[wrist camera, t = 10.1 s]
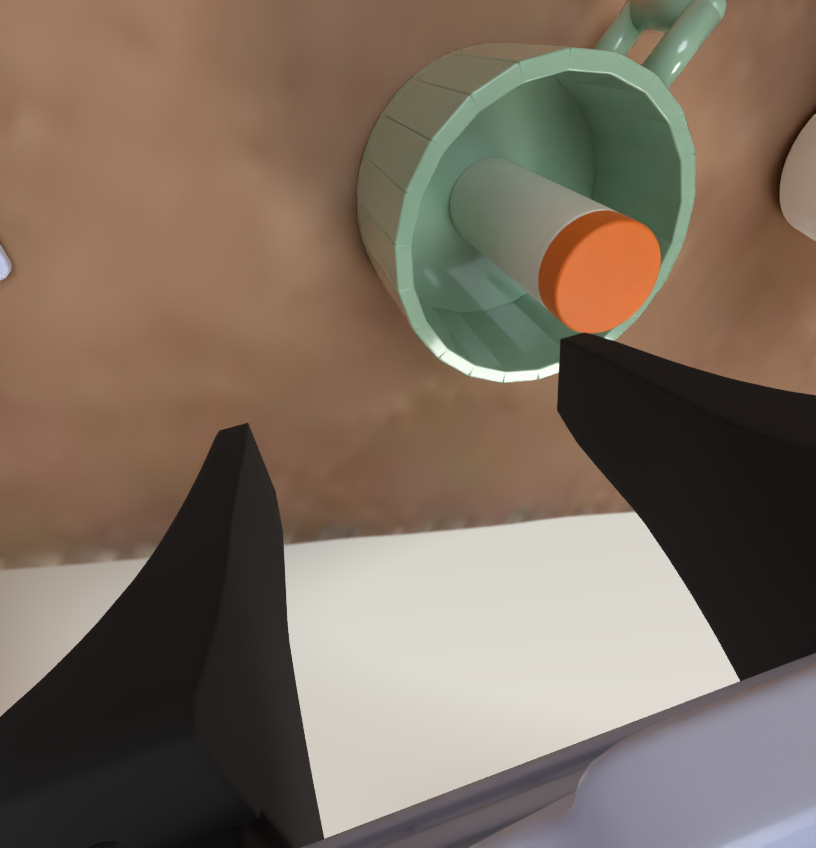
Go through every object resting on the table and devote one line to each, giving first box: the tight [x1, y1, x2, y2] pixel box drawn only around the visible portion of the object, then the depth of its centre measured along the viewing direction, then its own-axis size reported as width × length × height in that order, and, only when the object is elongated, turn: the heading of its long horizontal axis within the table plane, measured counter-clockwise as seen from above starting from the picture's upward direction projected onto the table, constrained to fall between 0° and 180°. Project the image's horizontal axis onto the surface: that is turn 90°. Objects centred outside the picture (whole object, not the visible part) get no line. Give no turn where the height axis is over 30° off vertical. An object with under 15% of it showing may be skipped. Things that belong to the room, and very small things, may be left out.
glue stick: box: [450, 158, 661, 334], centre depth 17 cm, size 3×3×8 cm
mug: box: [357, 0, 727, 383], centre depth 18 cm, size 12×10×6 cm
